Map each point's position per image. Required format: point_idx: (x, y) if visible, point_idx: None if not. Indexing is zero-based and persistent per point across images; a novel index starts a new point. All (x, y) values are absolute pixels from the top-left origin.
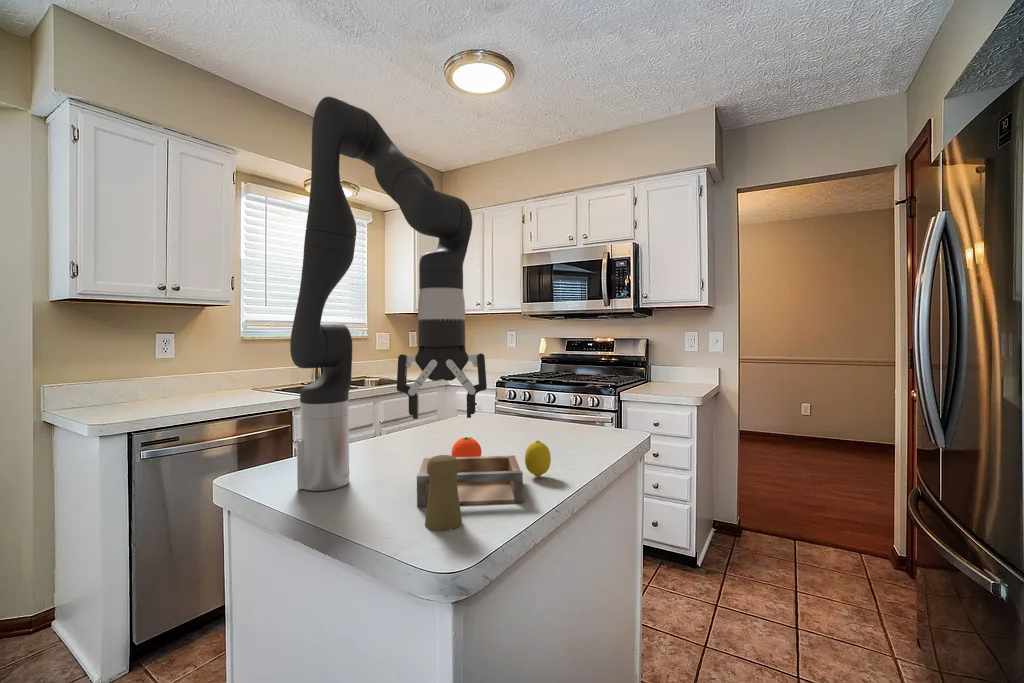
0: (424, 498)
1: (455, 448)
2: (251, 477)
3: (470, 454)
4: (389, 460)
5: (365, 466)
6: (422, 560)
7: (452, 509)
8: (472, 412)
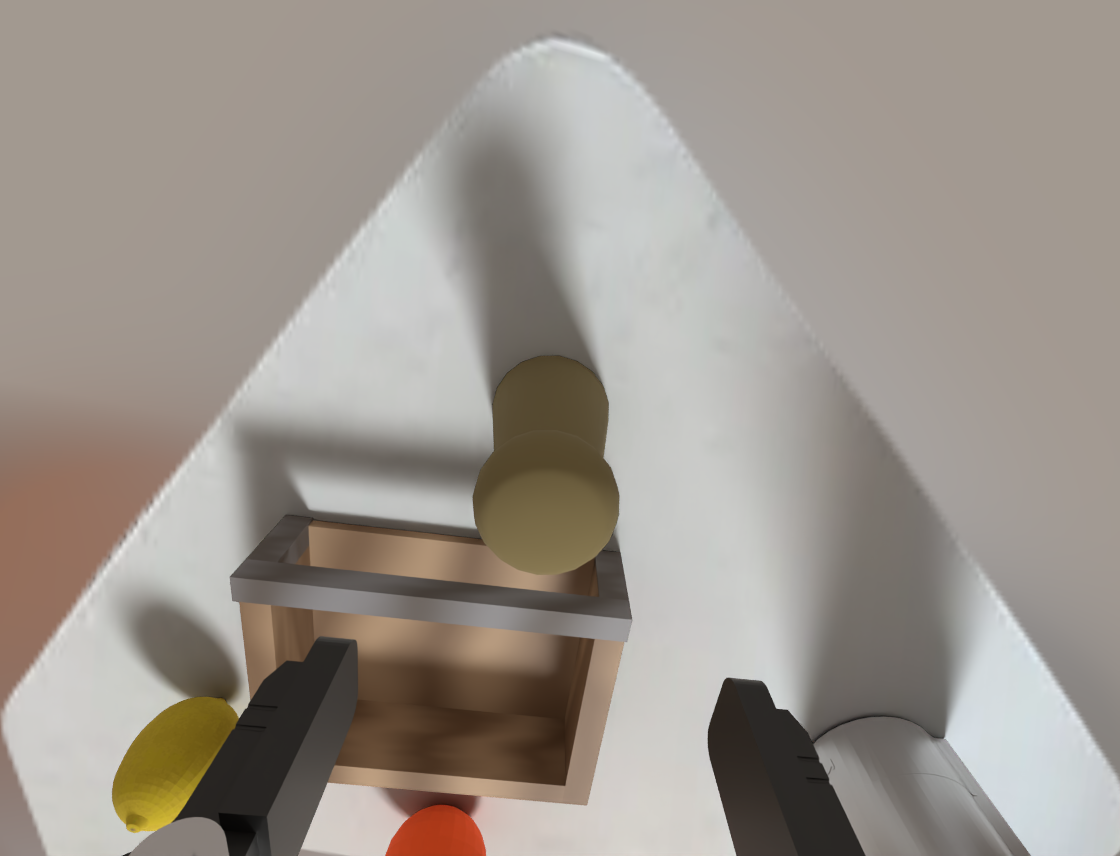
0: (599, 565)
1: None
2: (1055, 844)
3: (422, 841)
4: None
5: None
6: (639, 149)
7: (521, 387)
8: (293, 672)
